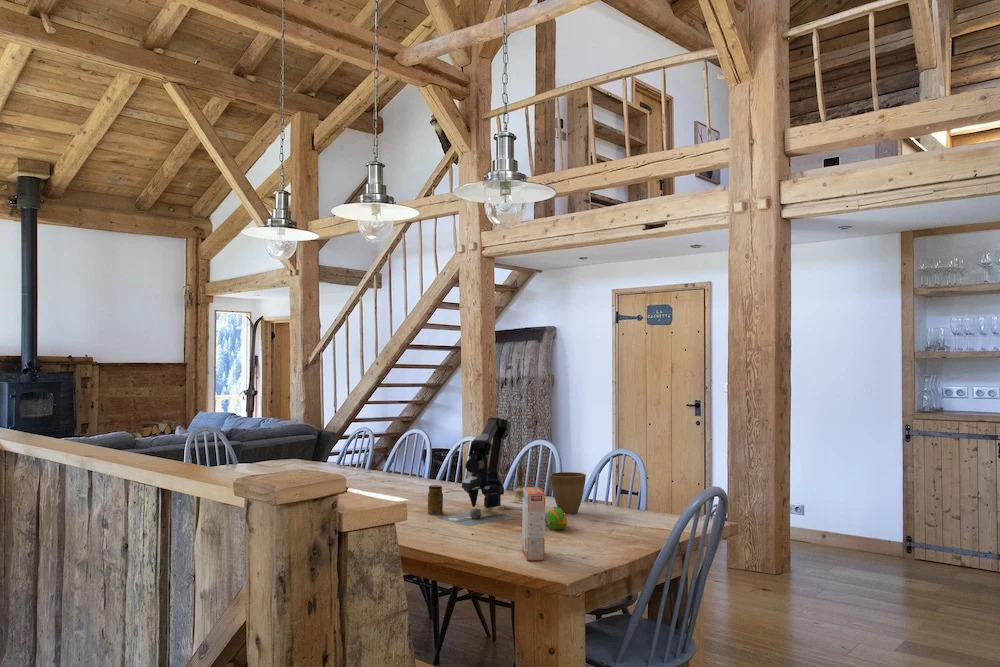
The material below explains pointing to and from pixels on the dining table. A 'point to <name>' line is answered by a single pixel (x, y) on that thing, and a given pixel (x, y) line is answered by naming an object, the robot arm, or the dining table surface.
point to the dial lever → (484, 512)
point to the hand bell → (519, 487)
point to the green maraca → (556, 519)
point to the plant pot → (568, 490)
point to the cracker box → (533, 524)
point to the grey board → (476, 521)
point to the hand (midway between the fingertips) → (480, 508)
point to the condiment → (435, 500)
